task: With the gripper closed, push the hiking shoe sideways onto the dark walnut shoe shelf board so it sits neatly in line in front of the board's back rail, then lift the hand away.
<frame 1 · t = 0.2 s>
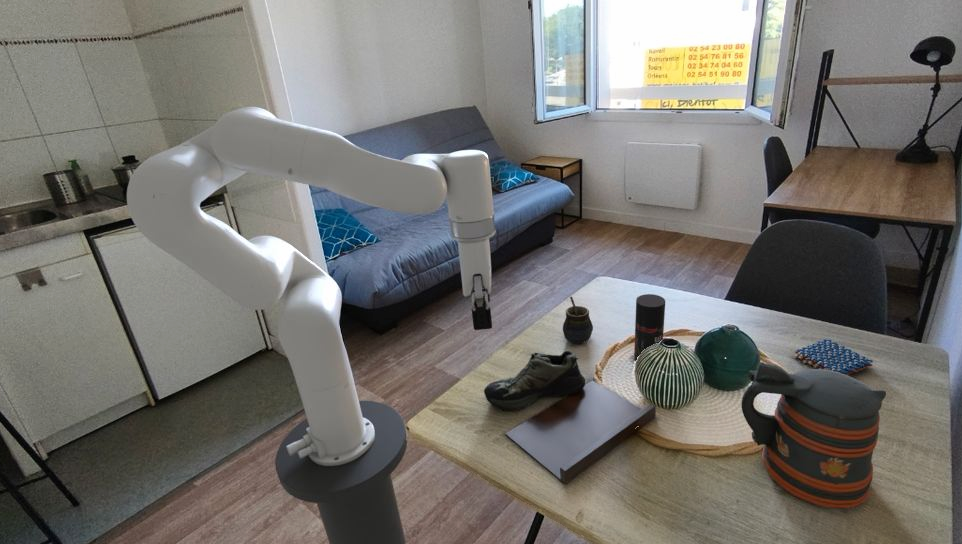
hand: (482, 315, 91), 23 cm above the table, tool pointing down, fingers open, 9 cm apart
mate gourd: (577, 339, 124), on the table
shoe shelf: (580, 426, 96), on the table
hiking shoe: (534, 395, 105), on the table, touching shoe shelf
deodorant: (647, 359, 114), on the table
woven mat: (831, 362, 107), on the table
beer stein: (797, 472, 82), on the table
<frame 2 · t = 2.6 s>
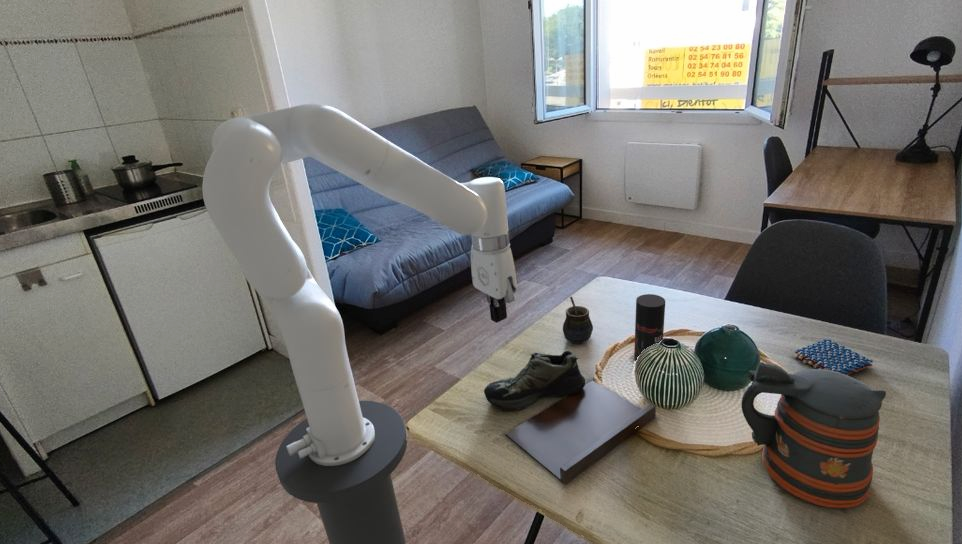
hand: (499, 319, 108), 14 cm above the table, tool pointing down, fingers closed
nothing on the table moved.
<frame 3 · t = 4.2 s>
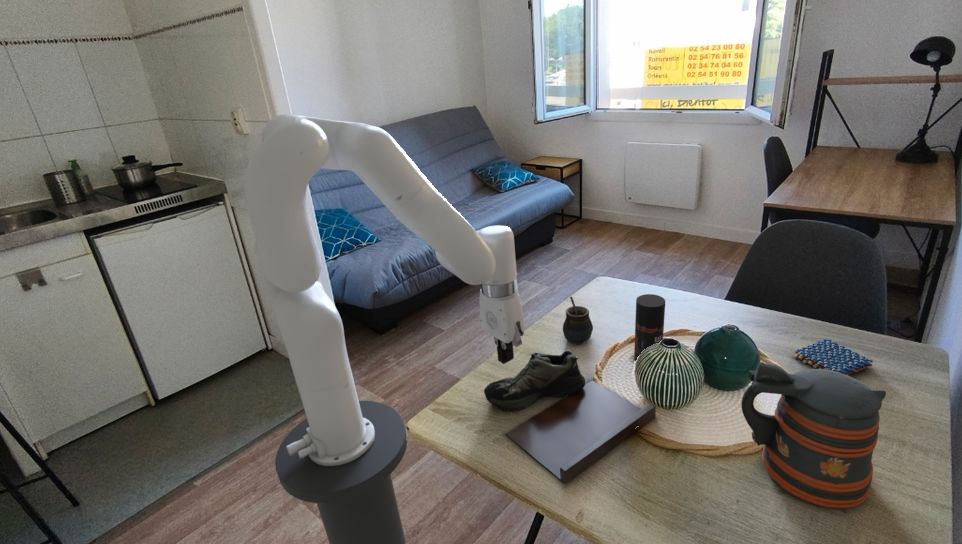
hand: (506, 359, 111), 4 cm above the table, tool pointing down, fingers closed
nothing on the table moved.
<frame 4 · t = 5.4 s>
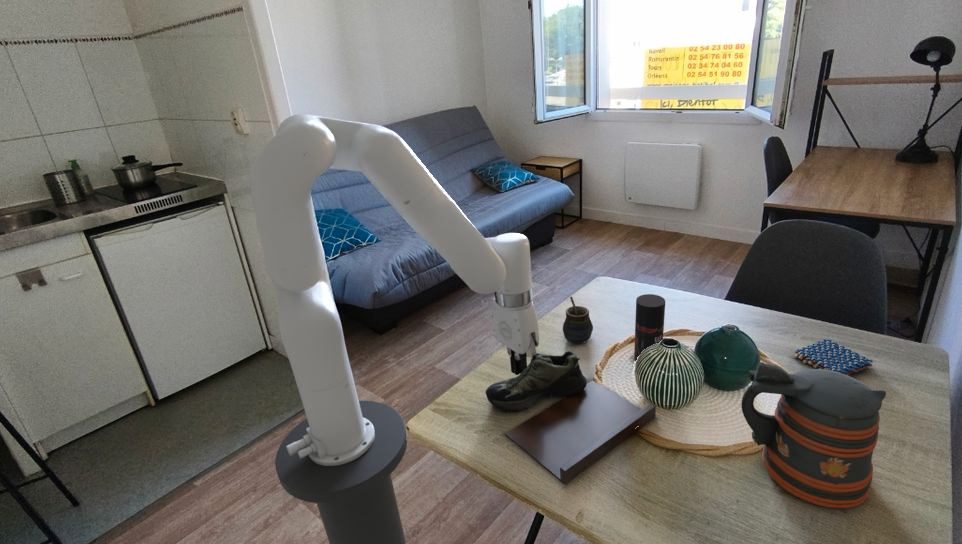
hand: (519, 370, 108), 4 cm above the table, tool pointing down, fingers closed
hiking shoe: (536, 395, 105), on the table, touching gripper
everything else where it was.
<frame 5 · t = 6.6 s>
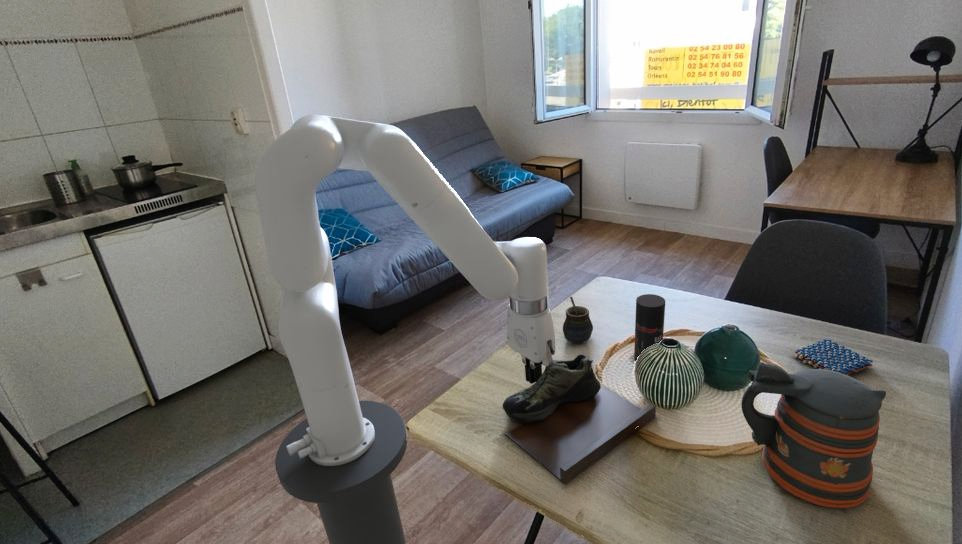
hand: (534, 379, 104), 4 cm above the table, tool pointing down, fingers closed
hiking shoe: (552, 404, 102), on the table, touching gripper, shoe shelf
everything else where it was.
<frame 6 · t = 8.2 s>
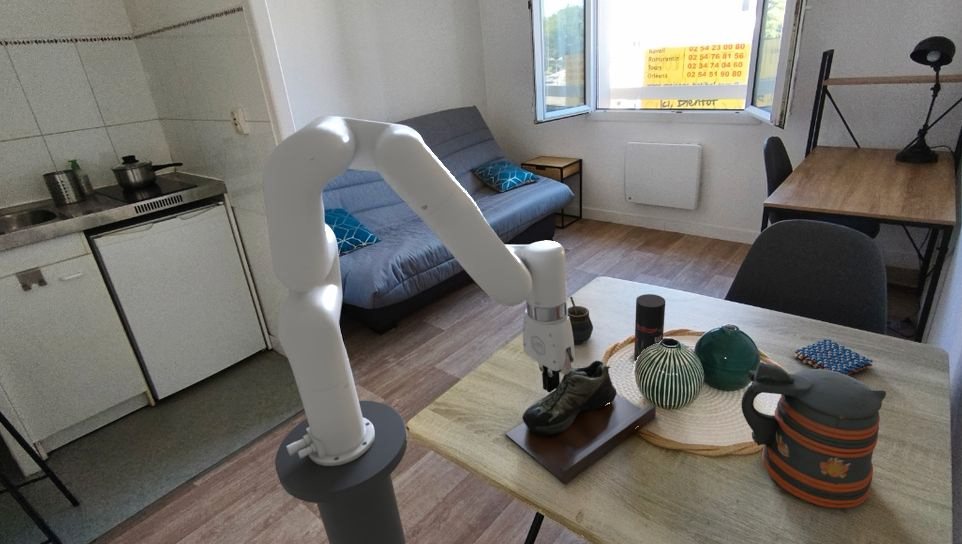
hand: (551, 387, 101), 4 cm above the table, tool pointing down, fingers closed
hiking shoe: (569, 413, 99), resting on shoe shelf, touching gripper
everything else where it was.
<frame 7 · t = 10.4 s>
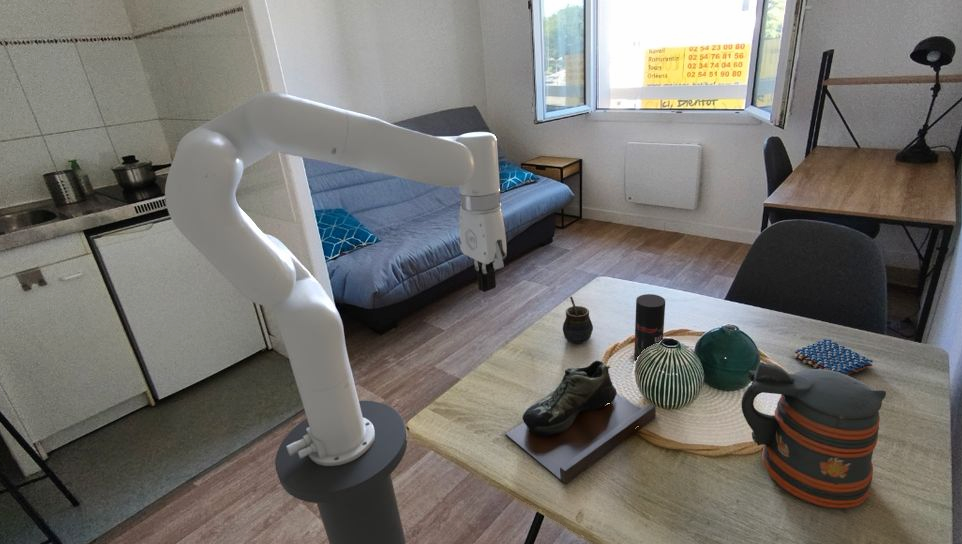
hand: (487, 288, 102), 23 cm above the table, tool pointing down, fingers closed
hiking shoe: (569, 413, 99), resting on shoe shelf
everything else where it was.
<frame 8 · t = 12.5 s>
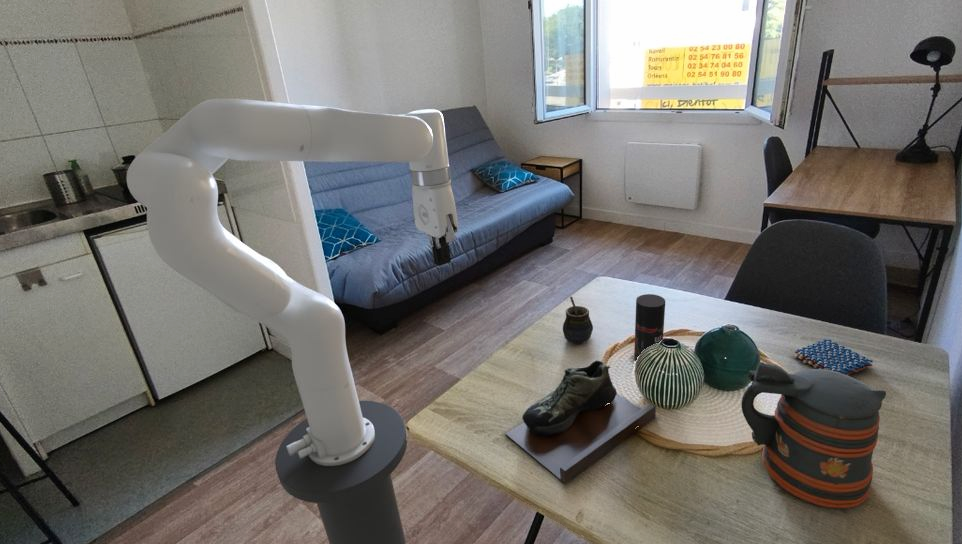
hand: (442, 263, 105), 27 cm above the table, tool pointing down, fingers closed
nothing on the table moved.
at the end: hiking shoe inside the target area (3.7 cm from its centre), resting on shoe shelf; hiking shoe tilted 0°; hiking shoe moved 9.1 cm from its start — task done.
